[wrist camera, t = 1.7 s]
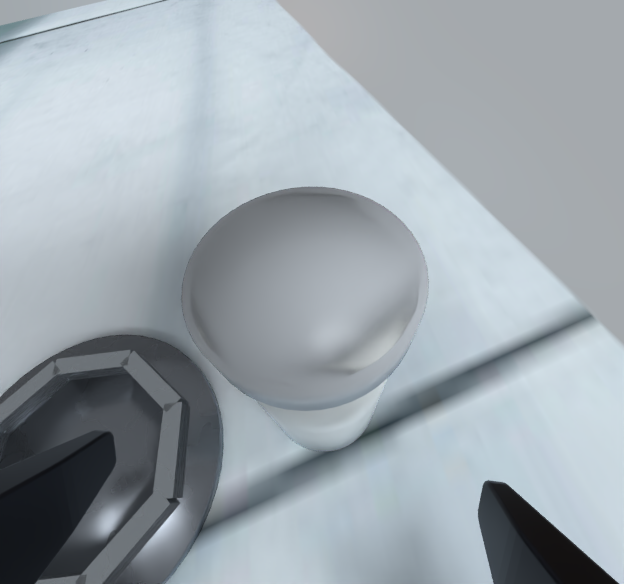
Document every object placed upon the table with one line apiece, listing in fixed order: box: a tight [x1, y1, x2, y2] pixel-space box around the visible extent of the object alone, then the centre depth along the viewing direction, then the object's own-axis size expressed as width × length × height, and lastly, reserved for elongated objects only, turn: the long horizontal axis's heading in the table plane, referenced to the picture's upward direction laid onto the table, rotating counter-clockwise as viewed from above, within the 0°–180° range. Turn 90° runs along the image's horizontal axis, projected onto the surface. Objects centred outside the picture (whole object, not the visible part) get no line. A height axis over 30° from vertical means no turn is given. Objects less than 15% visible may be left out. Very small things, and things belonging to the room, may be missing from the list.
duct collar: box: [0, 335, 223, 584], centre depth 18 cm, size 15×15×2 cm
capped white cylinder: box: [182, 187, 429, 452], centre depth 14 cm, size 6×6×13 cm
